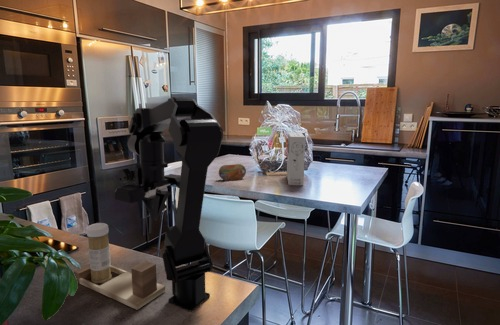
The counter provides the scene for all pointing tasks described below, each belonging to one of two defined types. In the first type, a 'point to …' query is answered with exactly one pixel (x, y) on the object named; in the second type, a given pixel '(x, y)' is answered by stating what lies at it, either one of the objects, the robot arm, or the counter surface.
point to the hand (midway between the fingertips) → (154, 219)
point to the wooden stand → (126, 284)
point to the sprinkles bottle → (99, 252)
